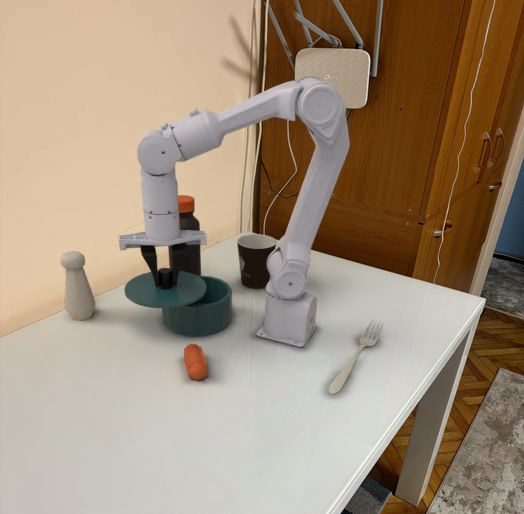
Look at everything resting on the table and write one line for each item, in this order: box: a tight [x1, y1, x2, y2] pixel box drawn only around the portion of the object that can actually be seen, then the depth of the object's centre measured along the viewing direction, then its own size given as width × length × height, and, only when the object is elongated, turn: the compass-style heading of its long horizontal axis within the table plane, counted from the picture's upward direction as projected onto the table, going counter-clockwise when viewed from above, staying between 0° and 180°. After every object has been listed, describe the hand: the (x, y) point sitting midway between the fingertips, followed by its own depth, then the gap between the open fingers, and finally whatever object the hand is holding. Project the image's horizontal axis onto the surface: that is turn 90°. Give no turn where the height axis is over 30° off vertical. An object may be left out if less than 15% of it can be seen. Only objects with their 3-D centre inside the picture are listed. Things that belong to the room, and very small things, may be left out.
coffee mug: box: [236, 233, 277, 290], centre depth 115 cm, size 12×9×10 cm
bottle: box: [167, 194, 202, 276], centre depth 108 cm, size 7×7×20 cm
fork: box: [328, 319, 384, 395], centre depth 91 cm, size 3×24×2 cm, turn 152°
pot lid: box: [123, 267, 207, 309], centre depth 90 cm, size 14×14×4 cm
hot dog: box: [183, 343, 208, 381], centre depth 86 cm, size 9×3×3 cm, turn 16°
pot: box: [161, 275, 233, 338], centre depth 100 cm, size 13×13×6 cm
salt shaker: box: [59, 250, 96, 321], centre depth 97 cm, size 6×6×13 cm
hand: (165, 284), depth 90 cm, fingers closed on pot lid, 2 cm apart
